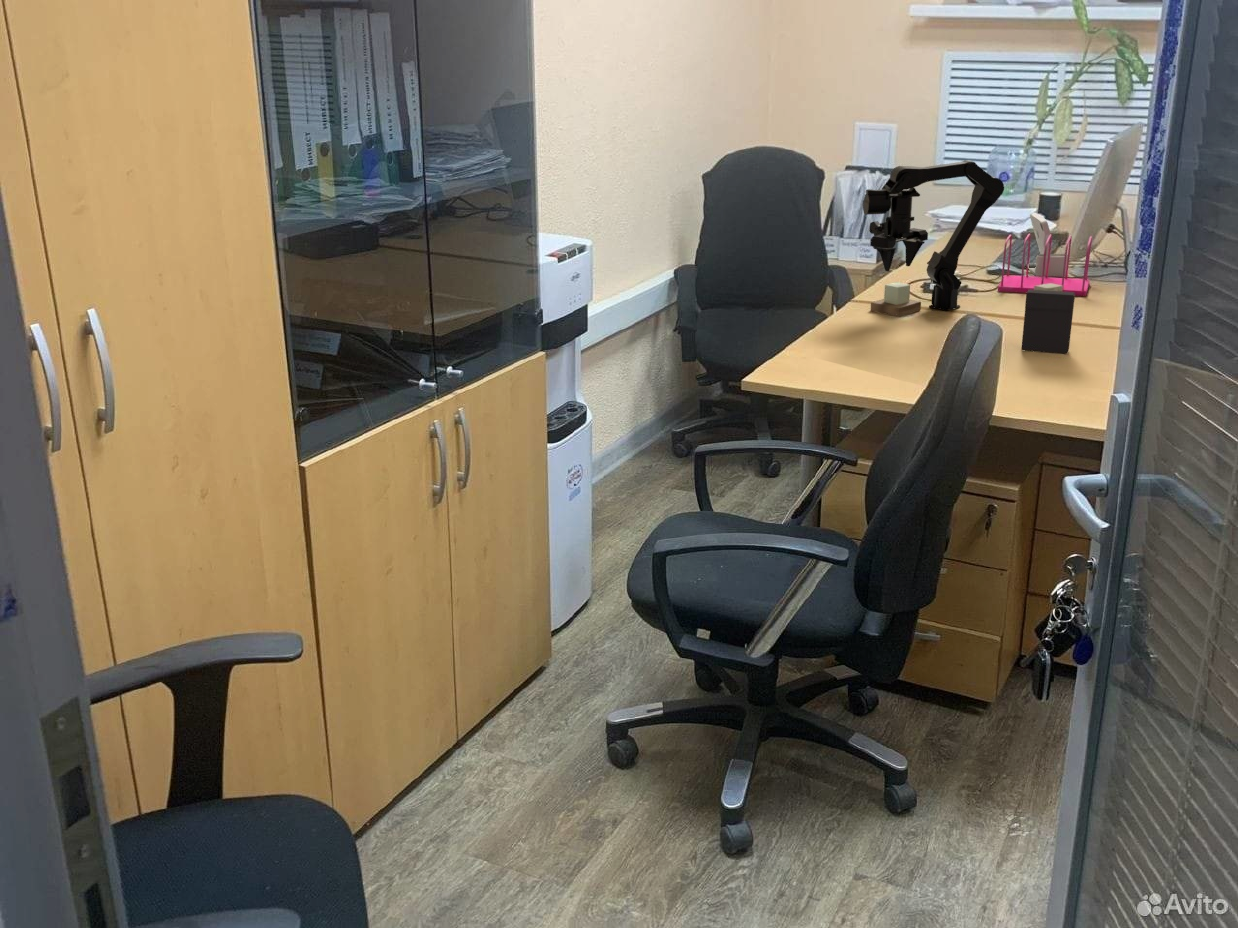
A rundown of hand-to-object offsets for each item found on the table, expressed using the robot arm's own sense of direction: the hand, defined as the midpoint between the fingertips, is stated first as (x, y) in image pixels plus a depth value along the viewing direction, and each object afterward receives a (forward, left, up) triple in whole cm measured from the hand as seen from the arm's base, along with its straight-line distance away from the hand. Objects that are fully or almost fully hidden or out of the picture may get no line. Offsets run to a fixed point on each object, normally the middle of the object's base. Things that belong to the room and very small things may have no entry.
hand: (897, 268), depth 326 cm
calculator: (-53, +8, -12) cm, 55 cm away
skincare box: (-42, -9, -12) cm, 45 cm away
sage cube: (0, 0, -10) cm, 10 cm away
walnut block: (0, 0, -13) cm, 13 cm away
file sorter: (-14, -53, -13) cm, 56 cm away
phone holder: (-1, -75, -12) cm, 76 cm away
